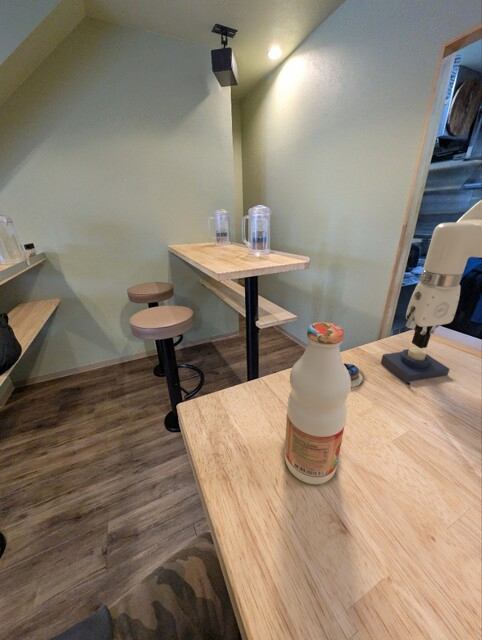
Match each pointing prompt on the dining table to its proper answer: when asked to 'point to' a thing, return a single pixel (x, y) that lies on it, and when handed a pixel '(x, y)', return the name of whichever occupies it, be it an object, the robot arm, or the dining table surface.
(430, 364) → the push cap base
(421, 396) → the dining table surface
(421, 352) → the push cap
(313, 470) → the fruit juice
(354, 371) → the dessert
